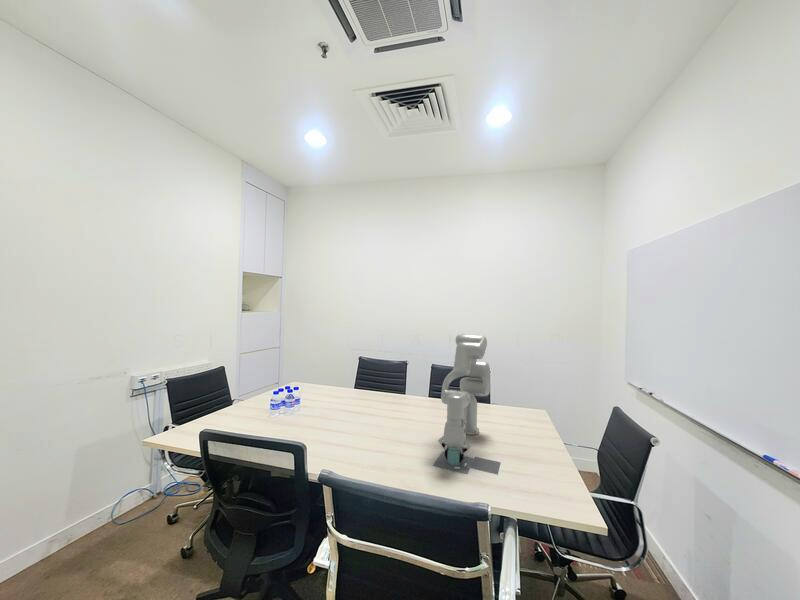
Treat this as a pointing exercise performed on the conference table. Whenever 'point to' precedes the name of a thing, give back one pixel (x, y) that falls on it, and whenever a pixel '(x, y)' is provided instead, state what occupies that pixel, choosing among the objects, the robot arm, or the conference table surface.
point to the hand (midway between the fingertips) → (454, 459)
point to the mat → (486, 465)
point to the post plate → (460, 468)
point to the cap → (453, 455)
